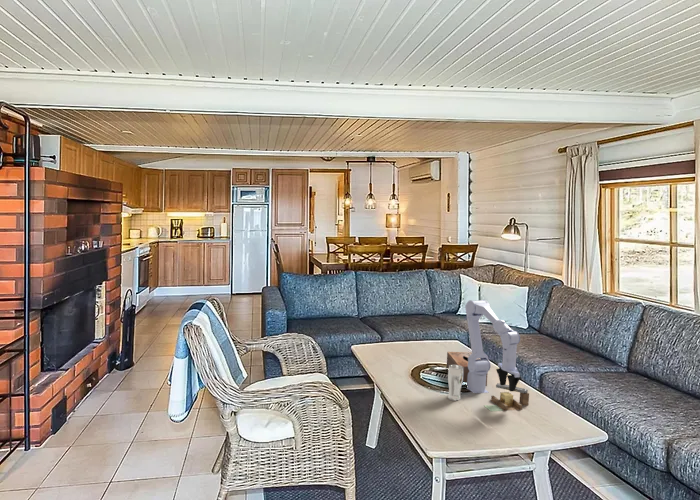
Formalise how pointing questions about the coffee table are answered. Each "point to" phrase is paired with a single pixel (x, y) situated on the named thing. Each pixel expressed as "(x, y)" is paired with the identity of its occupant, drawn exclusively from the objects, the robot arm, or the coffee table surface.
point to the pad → (493, 408)
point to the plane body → (516, 406)
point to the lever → (508, 388)
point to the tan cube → (506, 398)
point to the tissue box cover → (460, 362)
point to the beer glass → (455, 382)
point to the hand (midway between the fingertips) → (507, 388)
